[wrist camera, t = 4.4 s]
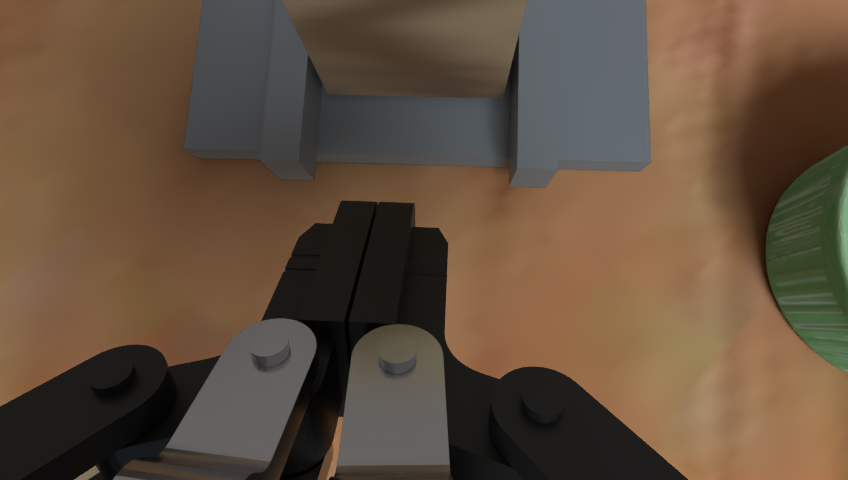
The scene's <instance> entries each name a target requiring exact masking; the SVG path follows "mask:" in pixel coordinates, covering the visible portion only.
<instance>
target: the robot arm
mask: <svg viewBox="0 0 848 480" xmlns="http://www.w3.org/2000/svg"><path fill="white" fill-rule="evenodd" d="M447 257H448V242H447V241H446V239H445V238H444V236H443V235H442V233H441V231H440V230H439V228H424V227H415V204H414V203H396V202H379V204H378V203H377V202H366V201H341V203H340V205H339V208H338V211H337V213H336V216H335V219H334V221H333V224H320V223H315V224H314V225H313V226H312V227H311V228H309V229H308V230H307V231H306V232H305V233H304V234H302V235H301V236H300V237H299V239H298V241H297V243H296V245H295V247H294V250H293V252H292V257H290V259H289V261H288V263H287V265H286V267H285V272H283V274H282V276H281V278H280V281H279V283H278V285H277V287H276V290H275V292H274V294H273V296H272V298H271V301H270V303H269V305H268V307H267V310H266V312H265V314H264V316H263V318H262V321H261V322H257V323H255V324H253V325H250V326H248V327H247V328H245V329H243V330H242V331H240V332H239V333H238V334H236V335H235V336H234V337H233V338H232V339H231V341H230V342H229V344H228V345H227V347H226V348H225V350H224V352H223V353H222V355H220V356H217V357H213V358H209V359H205V360H200V361H195V362H190V363H185V364H180V365H175V366H170V367H168V364H167V362H166V360H165V357H164V356H163V355H162V353H161V352H159V351H158V350H157V349H155V348H152V347H149V346H145V345H126V346H120V347H117V348H113V349H110V350H107V351H104V352H102V353H100V354H98V355H96V356H94V357H92V358H90V359H88V360H86V361H85V362H83V363H81V364H79V365H77V366H75V367H73V368H71V369H70V370H68V371H66V372H64V373H62V374H60V375H58V376H57V377H55V378H53V379H51V380H49V381H47V382H45V383H43V384H42V385H40V386H38V387H36V388H34V389H32V390H30V391H29V392H27V393H25V394H23V395H21V396H19V397H17V398H15V399H14V400H12V401H10V402H8V403H6V404H4V405H2V406H1V407H0V480H74V479H75V478H77V477H78V476H80V475H82V474H83V473H85V472H86V471H88V470H89V469H91V468H92V467H94V466H95V465H96V467H97V468H98V470H99V473H98V474H96V475H95V476H93V477H92V478H90V479H89V480H326V478H327V475H328V471H329V468H330V465H331V462H332V457H333V444H332V442H333V438H334V434H335V430H336V425H337V421H338V417H343V424H342V432H341V439H340V447H339V455H338V462H337V468H336V473H335V476H334V477H330V479H329V480H688V479H687V478H686V477H685V476H683V475H682V474H681V473H680V472H679V471H678V470H677V469H675V468H674V467H673V466H672V465H671V464H670V463H668V462H667V461H666V460H665V459H664V458H663V457H662V456H660V455H659V454H658V453H657V452H656V451H655V450H653V449H652V448H651V447H650V446H649V445H648V444H647V443H645V442H644V441H643V440H642V439H641V438H640V437H638V436H637V435H636V434H635V433H634V432H633V431H631V430H630V429H629V428H628V427H627V426H626V425H625V424H623V423H622V422H621V421H620V420H619V419H618V418H616V417H615V416H614V415H613V414H612V413H611V412H610V411H608V410H607V409H606V408H605V407H604V406H603V405H601V404H600V403H599V402H598V401H597V400H596V399H595V398H593V397H592V396H591V395H590V394H589V393H588V392H586V391H585V390H584V389H583V388H582V387H581V386H579V385H578V384H577V383H576V382H575V381H573V380H572V379H571V378H569V377H567V376H566V375H564V374H562V373H560V372H557V371H555V370H552V369H548V368H543V367H523V368H519V369H516V370H513V371H511V372H509V373H507V374H506V375H504V376H503V377H502V378H501V379H497V378H494V377H491V376H488V375H485V374H482V373H479V372H477V371H474V370H472V369H470V368H468V367H467V366H465V365H464V364H462V363H461V362H460V361H458V360H457V359H456V358H455V357H454V356H453V354H452V353H451V352H450V350H449V348H448V346H447V344H446V341H445V333H444V331H445V306H446V282H447Z"/></svg>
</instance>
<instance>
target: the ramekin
mask: <svg viewBox="0 0 848 480" xmlns="http://www.w3.org/2000/svg"><path fill="white" fill-rule="evenodd" d="M766 268H767V273H768V278H769V282H770V285H771V288H772V291H773V294H774V297H775V299H776V301H777V303H778V305H779V307H780V309H781V311H782V313H783V315H784V317H785V318H786V319H787V321H788V322H789V324H790V325H791V327H792V328H793V330H794V331H795V332H796V333H797V334H798V335H799V336H800V338H801V339H802V340H803V341H804V342H805V343H806V344H807V345H808V346H809V347H810V348H811V349H812V350H813V351H815V352H816V353H817V354H818V355H819V356H820V357H822V358H823V359H825V360H826V361H828V362H829V363H831V364H832V365H834V366H835V367H837V368H838V369H840V370H842V371H844V372H846V373H848V145H847V146H845V147H843V148H841V149H840V150H838V151H836V152H834V153H833V154H831V155H829V156H828V157H826V158H824V159H823V160H821V161H819V162H817V163H816V164H814V165H813V166H811V167H810V168H808V169H807V170H806V171H805V172H803V173H802V174H801V175H800V176H799V177H797V178H796V179H795V180H794V181H793V183H792V184H791V185H790V186H789V187H788V188H787V189H786V190H785V192H784V193H783V194H782V196H781V197H780V199H779V201H778V203H777V204H776V207H775V209H774V211H773V214H772V216H771V219H770V222H769V225H768V230H767V234H766Z"/></svg>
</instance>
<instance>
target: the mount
mask: <svg viewBox="0 0 848 480" xmlns="http://www.w3.org/2000/svg"><path fill="white" fill-rule="evenodd" d="M183 149H185V150H186V151H188V152H189V153H191V154H192V155H193V156H195V157H196V158H214V159H247V160H260V161H261V162H262V163H263V164H264V165H265V166H266V167H267V168H268V169H269V170H270V171H271V172H272V173H273V174H275V175H276V176H277V177H278V178H279V179H283V180H315V168H316V162H345V163H378V164H410V165H443V166H476V167H508V168H509V187H531V188H545V187H546V186H547V185H548V183H549V182H550V180H551V179H552V177H553V176H554V175H555V173H556V172H557V170H558V169H574V170H606V171H639V172H640V171H641V170H642V169H644V168H645V167H646V166H647V165H648V164H650V163H651V151H650V120H649V88H648V57H647V25H646V0H527V3H526V7H525V11H524V15H523V20H522V24H521V28H520V32H519V36H518V40H517V44H516V48H515V52H514V56H513V60H512V64H511V68H510V72H509V76H508V80H507V84H506V88H505V92H504V96H503V99H491V98H451V97H410V96H370V95H329V94H327V91H326V89H325V87H324V85H323V83H322V81H321V79H320V77H319V75H318V73H317V71H316V69H315V67H314V65H313V63H312V61H311V59H310V57H309V55H308V53H307V51H306V49H305V46H304V44H303V42H302V40H301V38H300V36H299V34H298V32H297V30H296V28H295V26H294V24H293V22H292V20H291V18H290V16H289V14H288V12H287V10H286V8H285V6H284V4H283V2H282V0H203V2H202V10H201V17H200V25H199V33H198V40H197V48H196V56H195V64H194V71H193V79H192V87H191V94H190V102H189V110H188V117H187V125H186V133H185V141H184V148H183Z"/></svg>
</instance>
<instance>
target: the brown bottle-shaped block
mask: <svg viewBox="0 0 848 480" xmlns="http://www.w3.org/2000/svg"><path fill="white" fill-rule="evenodd" d="M282 2H283V4H284V6H285V8H286V10H287V12H288V14H289V16H290V18H291V20H292V22H293V24H294V26H295V28H296V30H297V32H298V34H299V36H300V38H301V40H302V42H303V44H304V46H305V49H306V51H307V53H308V55H309V57H310V59H311V61H312V63H313V65H314V67H315V69H316V71H317V73H318V75H319V77H320V79H321V81H322V83H323V85H324V87H325V89H326V91H327V94H329V95H370V96H410V97H451V98H491V99H503V96H504V92H505V88H506V84H507V80H508V76H509V72H510V68H511V64H512V60H513V56H514V52H515V48H516V44H517V40H518V36H519V32H520V28H521V24H522V20H523V15H524V11H525V7H526V3H527V0H282Z"/></svg>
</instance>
